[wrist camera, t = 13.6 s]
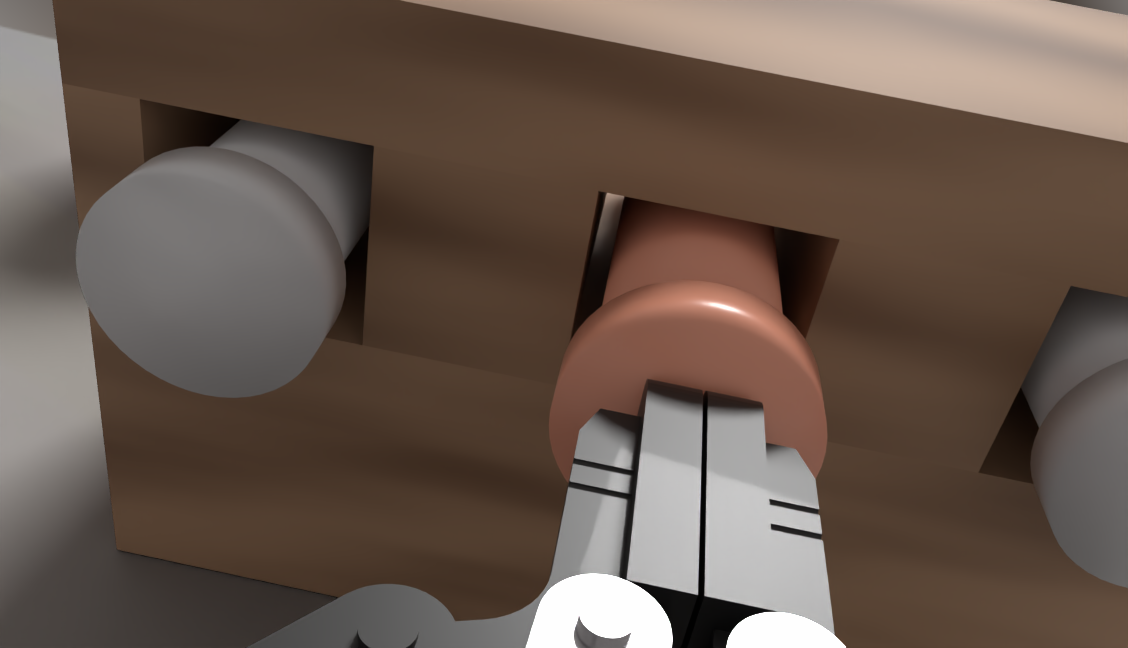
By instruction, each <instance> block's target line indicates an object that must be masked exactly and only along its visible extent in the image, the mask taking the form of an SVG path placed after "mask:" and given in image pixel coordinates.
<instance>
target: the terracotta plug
mask: <svg viewBox="0 0 1128 648" xmlns="http://www.w3.org/2000/svg"><path fill="white" fill-rule="evenodd" d="M647 379H652V380H657V381H661V382H666V383H671V384H676V385H681V386H686V387H690V388H695V389H700V390H702V391H703V395H704V393H705V391H711V392H716V393H720V394H725V395H730V396H735V397H740V398H745V399H749V400H754V401H759V402H762V404H763V409H764V425H765V440H766V443H770V444H775V445H780V446H785V447H790V448H794V449H796V450H797V451H798V453H799V454H800V456H801V458H802V459H803V461H804V462H805V464H806V465H807V467H808V468H809V470H810V471H811V473H812V474H813V476H814V478H815V479H816V477H817V475H818V473H819V471H820V469H821V467H822V464H823V460H824V457H825V453H826V446H827V421H826V414H825V408H824V401H823V394H822V388H821V381H820V376H819V371H818V366H817V363H816V360H815V358H814V355H813V353H812V350H811V348H810V347H809V345H808V343H807V342H806V340H805V338H804V337H803V335H802V334H801V333H800V332H799V330H798V329H797V328H796V327H795V325H794V324H793V323H792V322H791V321H790V320H789V319H788V318H787V317H785V316H784V315H783V311H782V301H781V291H780V282H779V272H778V263H777V253H776V243H775V234H774V226H770V225H765V224H760V223H755V222H750V221H745V220H740V219H735V218H730V217H725V216H720V215H715V214H710V213H705V212H700V211H695V210H690V209H685V208H680V207H675V206H670V205H665V204H660V203H655V202H650V201H645V200H640V199H635V198H631V197H626V196H624V199H623V204H622V209H621V214H620V219H619V224H618V229H617V234H616V239H615V244H614V249H613V254H612V259H611V264H610V269H609V274H608V279H607V284H606V289H605V294H604V299H603V304H602V306H601V307H600V308H599V309H597V310H596V311H595V312H594V313H593V314H592V315H590V316H589V317H588V318H587V319H586V320H585V322H584V323H583V324H582V325H581V326H580V327H579V328H578V330H577V331H576V333H575V334H574V336H573V338H572V339H571V341H570V343H569V345H568V347H567V349H566V351H565V354H564V357H563V361H562V364H561V368H560V372H559V376H558V380H557V384H556V388H555V392H554V397H553V401H552V405H551V409H550V417H549V438H550V443H551V447H552V452H553V455H554V457H555V460H556V463H557V465H558V467H559V469H560V471H561V473H562V474H563V476H564V478H565V479H566V481H567V482H569V478H570V473H571V468H572V463H573V459H574V454H575V449H576V444H577V440H578V435H579V430H580V429H581V428H582V427H583V426H584V425H585V424H586V423H587V422H588V421H589V420H590V419H591V418H592V417H593V415H594V414H595V413H596V412H597V411H598V410H599V409H600V408H601V409H606V410H611V411H616V412H621V413H625V414H630V415H635V416H637V414H638V410H639V406H640V402H641V398H642V394H643V390H644V386H645V383H646V380H647Z"/></svg>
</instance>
